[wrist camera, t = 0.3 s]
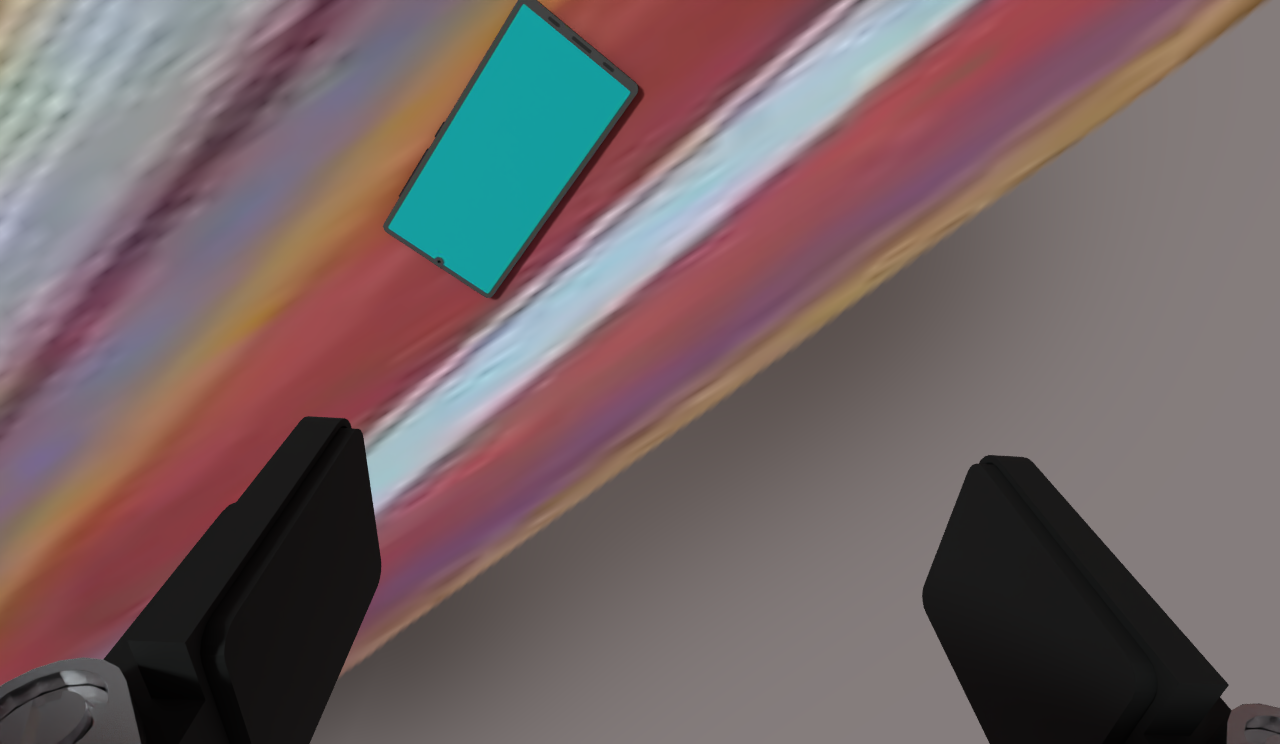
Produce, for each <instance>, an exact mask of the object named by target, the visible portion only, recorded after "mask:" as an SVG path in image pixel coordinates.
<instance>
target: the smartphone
mask: <svg viewBox="0 0 1280 744" xmlns="http://www.w3.org/2000/svg"><path fill="white" fill-rule="evenodd" d="M637 92H638V85H637V84H636V82H634V81H633V80H632V79H631V78H630V77H628V76H627V75H626V74H625V73H624V72H622V71H621V70H620V69H619V68H618V67H616V66H615V65H614V64H613V63H612V62H610V61H609V60H608V59H607V58H606V57H604V56H603V55H602V54H601V53H600V52H598V51H597V50H596V49H595V48H594V47H592V46H591V45H590V44H589V43H587V42H586V41H585V40H584V39H583V38H581V37H580V36H579V35H578V34H577V33H576V32H574V31H573V30H572V29H571V28H570V27H568V26H567V25H566V24H565V23H564V22H562V21H561V20H560V19H559V18H558V17H556V16H555V15H554V14H553V13H552V12H550V11H549V10H548V9H547V8H546V7H544V6H543V5H542V4H541V3H540V2H538V1H537V0H518V1H517V3H516V5H515V6H514V8H513V10H512V11H511V13H510V15H509V16H508V18H507V20H506V21H505V23H504V25H503V26H502V28H501V30H500V31H499V33H498V35H497V36H496V38H495V40H494V41H493V43H492V45H491V46H490V48H489V50H488V51H487V53H486V55H485V56H484V58H483V60H482V61H481V63H480V65H479V66H478V68H477V70H476V71H475V73H474V75H473V76H472V78H471V80H470V81H469V83H468V85H467V86H466V88H465V90H464V91H463V93H462V95H461V96H460V98H459V100H458V101H457V103H456V105H455V106H454V108H453V109H452V111H451V113H450V114H449V116H448V118H447V119H446V121H445V122H443V123H442V125H441V127H440V128H439V130H438V132H437V133H436V135H435V137H436V138H435V139H434V141H433V143H432V144H431V146H430V148H429V149H427V150H426V152H425V153H424V155H423V157H422V158H421V160H420V162H419V163H418V165H417V167H416V168H415V170H414V172H413V173H412V175H411V177H410V178H409V180H408V182H407V183H406V185H405V187H404V188H403V190H402V192H401V193H400V195H399V197H400V198H399V199H398V201H397V203H396V204H395V206H394V208H393V209H392V211H391V213H390V214H389V216H388V218H387V219H386V221H385V223H384V225H383V227H384V230H385V231H386V232H387V233H388V234H390V235H391V236H393V237H394V238H396V239H397V240H399V241H400V242H402V243H404V244H405V245H407V246H408V247H410V248H411V249H413V250H414V251H416V252H417V253H419V254H420V255H422V256H423V257H425V258H426V259H428V260H429V261H431V262H432V263H434V264H435V265H437V266H438V267H440V268H441V269H443V270H445V271H446V272H448V273H449V274H451V275H452V276H454V277H455V278H457V279H458V280H460V281H461V282H463V283H464V284H466V285H467V286H469V287H470V288H472V289H473V290H475V291H476V292H478V293H479V294H481V295H482V296H484V297H486V298H490V297H492V296H493V295H494V293H495V292H496V291H497V289H498V288H499V286H500V285H501V284H502V282H503V281H504V279H505V278H506V277H507V275H508V274H509V272H510V271H511V270H512V268H513V267H514V265H515V264H516V263H517V261H518V260H519V258H520V257H521V256H522V254H523V253H524V251H525V250H526V249H527V247H528V246H529V244H530V243H531V242H532V240H533V239H534V237H535V236H536V235H537V233H538V232H539V230H540V229H541V228H542V226H543V225H544V223H545V222H546V221H547V219H548V218H549V216H550V215H551V213H552V212H553V211H554V209H555V208H556V206H557V205H558V204H559V202H560V201H561V199H562V198H563V197H564V195H565V194H566V192H567V191H568V190H569V188H570V187H571V185H572V184H573V183H574V181H575V180H576V178H577V177H578V176H579V174H580V173H581V171H582V170H583V169H584V167H585V166H586V164H587V163H588V162H589V160H590V159H591V157H592V156H593V155H594V153H595V152H596V150H597V149H598V148H599V146H600V145H601V143H602V142H603V141H604V139H605V138H606V136H607V135H608V134H609V132H610V131H611V129H612V128H613V127H614V125H615V124H616V122H617V121H618V120H619V118H620V117H621V115H622V114H623V113H624V111H625V110H626V108H627V107H628V106H629V104H630V103H631V101H632V100H633V98H634V97H635V96H636V94H637Z"/></svg>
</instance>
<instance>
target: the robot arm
mask: <svg viewBox="0 0 1280 744" xmlns="http://www.w3.org/2000/svg"><path fill="white" fill-rule="evenodd" d="M380 574H381V557H380V550H379V543H378V536H377V529H376V522H375V515H374V508H373V501H372V494H371V487H370V480H369V473H368V466H367V459H366V452H365V445H364V438H363V434H362V432H361V430H359V429H352V428H351V425H350V423H349V421H348V420H347V419H345V418H328V417H310V416H308V417H304V418H303V419H302V420H301V421H300V422H299V423H298V425H297V426H296V427H295V429H294V430H293V431H292V432H291V434H290V435H289V436H288V437H287V439H286V440H285V441H284V442H283V444H282V445H281V446H280V448H279V449H278V450H277V451H276V453H275V454H274V455H273V456H272V458H271V459H270V460H269V461H268V463H267V464H266V465H265V467H264V468H263V469H262V470H261V472H260V473H259V474H258V475H257V477H256V478H255V479H254V480H253V482H252V483H251V484H250V486H249V487H248V488H247V489H246V491H245V492H244V493H243V494H242V496H241V497H240V498H239V499H238V501H237V502H236V503H233V504H231V505H229V506H228V507H227V508H226V509H225V510H224V511H223V512H222V513H221V514H220V515H219V516H218V518H217V519H216V520H215V521H214V523H213V524H212V525H211V526H210V528H209V529H208V530H207V531H206V532H205V534H204V535H203V536H202V537H201V539H200V540H199V541H198V542H197V544H196V545H195V546H194V547H193V549H192V550H191V551H190V552H189V554H188V555H187V556H186V557H185V559H184V560H183V561H182V562H181V564H180V565H179V566H178V567H177V569H176V570H175V571H174V572H173V574H172V575H171V576H170V577H169V579H168V580H167V581H166V582H165V584H164V585H163V586H162V587H161V589H160V590H159V591H158V592H157V594H156V595H155V596H154V597H153V599H152V600H151V601H150V602H149V603H148V605H147V606H146V607H145V608H144V610H143V611H142V612H141V613H140V615H139V616H138V617H137V618H136V620H135V621H134V622H133V623H132V625H131V626H130V627H129V628H128V630H127V631H126V632H125V633H124V635H123V636H122V637H121V638H120V640H119V641H118V642H117V643H116V645H115V646H114V647H113V648H112V650H111V651H110V652H109V653H108V655H107V656H106V657H105V658H104V660H101V659H92V658H77V659H69V660H62V661H57V662H54V663H51V664H48V665H45V666H42V667H39V668H36V669H33V670H31V671H29V672H27V673H25V674H23V675H20V676H18V677H16V678H14V679H12V680H10V681H8V682H6V683H5V684H3V685H2V686H0V744H309V743H310V741H311V739H312V737H313V734H314V732H315V730H316V727H317V725H318V722H319V720H320V718H321V715H322V713H323V711H324V709H325V706H326V704H327V702H328V700H329V697H330V695H331V693H332V690H333V688H334V686H335V683H336V681H337V679H338V676H339V674H340V672H341V670H342V667H343V665H344V663H345V660H346V658H347V656H348V653H349V651H350V649H351V646H352V644H353V642H354V640H355V637H356V635H357V633H358V630H359V628H360V626H361V623H362V621H363V619H364V616H365V614H366V612H367V609H368V607H369V605H370V603H371V600H372V598H373V596H374V593H375V591H376V589H377V586H378V583H379V579H380ZM922 597H923V605H924V609H925V611H926V614H927V615H928V618H929V620H930V622H931V624H932V626H933V628H934V630H935V632H936V634H937V636H938V638H939V640H940V642H941V644H942V647H943V649H944V651H945V653H946V655H947V657H948V659H949V661H950V663H951V665H952V667H953V669H954V671H955V673H956V675H957V677H958V679H959V681H960V684H961V685H962V687H963V690H964V692H965V694H966V696H967V698H968V700H969V702H970V704H971V706H972V708H973V710H974V712H975V714H976V716H977V718H978V720H979V723H980V725H981V726H982V729H983V731H984V733H985V735H986V737H987V739H988V741H989V743H990V744H1280V708H1277V707H1273V706H1269V705H1264V704H1242V705H1240V706H1238V707H1237V708H1235V709H1233V710H1231V709H1230V708H1229V707H1228V706H1227V705H1226V704H1225V702H1224V701H1223V700H1222V699H1221V698H1220V696H1221V695H1222V693H1223V692H1224V691H1225V689H1226V688H1227V687H1228V684H1227V682H1226V681H1225V680H1224V679H1223V678H1222V677H1221V676H1220V674H1219V673H1218V672H1217V671H1216V670H1215V669H1214V668H1213V667H1212V665H1211V664H1210V663H1209V662H1208V661H1207V660H1206V659H1205V657H1204V656H1203V655H1202V654H1201V653H1200V652H1199V651H1198V650H1197V648H1196V647H1195V646H1194V645H1193V644H1192V643H1191V642H1190V640H1189V639H1188V638H1187V637H1186V636H1185V635H1184V634H1183V632H1182V631H1181V630H1180V629H1179V628H1178V627H1177V626H1176V624H1175V623H1174V622H1173V621H1172V620H1171V619H1170V618H1169V617H1168V616H1167V614H1166V613H1165V612H1164V611H1163V610H1162V609H1161V608H1160V606H1159V605H1158V604H1157V603H1156V602H1155V601H1154V600H1153V598H1152V597H1151V596H1150V595H1149V594H1148V593H1147V592H1146V590H1145V589H1144V588H1143V587H1142V586H1141V585H1140V584H1139V582H1138V581H1137V580H1136V579H1135V578H1134V577H1133V576H1132V574H1131V573H1130V572H1129V571H1128V570H1127V569H1126V568H1125V567H1124V565H1123V564H1122V563H1121V562H1120V561H1119V560H1118V559H1117V557H1116V556H1115V555H1114V554H1113V553H1112V552H1111V551H1110V549H1109V548H1108V547H1107V546H1106V545H1105V544H1104V543H1103V542H1102V540H1101V539H1100V538H1099V537H1098V536H1097V535H1096V534H1095V533H1094V531H1093V530H1092V529H1091V528H1090V527H1089V526H1088V524H1087V523H1086V522H1085V521H1084V520H1083V519H1082V518H1081V517H1080V516H1079V514H1078V513H1077V512H1076V511H1075V510H1074V509H1073V508H1072V506H1071V505H1070V504H1069V503H1068V502H1067V501H1066V500H1065V498H1064V497H1063V496H1062V495H1061V494H1060V493H1059V492H1058V491H1057V489H1056V488H1055V487H1054V486H1053V485H1052V484H1051V482H1050V481H1049V480H1048V479H1047V478H1046V477H1045V476H1044V475H1043V473H1042V472H1041V471H1040V470H1039V469H1038V468H1037V467H1036V465H1035V464H1034V463H1033V462H1032V461H1030V460H1029V459H1028V458H1024V457H1013V456H995V455H988V456H985V457H984V458H983V459H982V460H981V461H980V463H979V464H974V465H972V466H971V467H970V469H969V471H968V473H967V475H966V478H965V480H964V483H963V486H962V489H961V491H960V493H959V496H958V499H957V501H956V504H955V506H954V509H953V511H952V514H951V517H950V519H949V522H948V524H947V527H946V530H945V532H944V535H943V537H942V540H941V543H940V545H939V548H938V550H937V553H936V556H935V558H934V561H933V563H932V566H931V569H930V571H929V574H928V577H927V579H926V582H925V585H924V587H923V595H922Z"/></svg>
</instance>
